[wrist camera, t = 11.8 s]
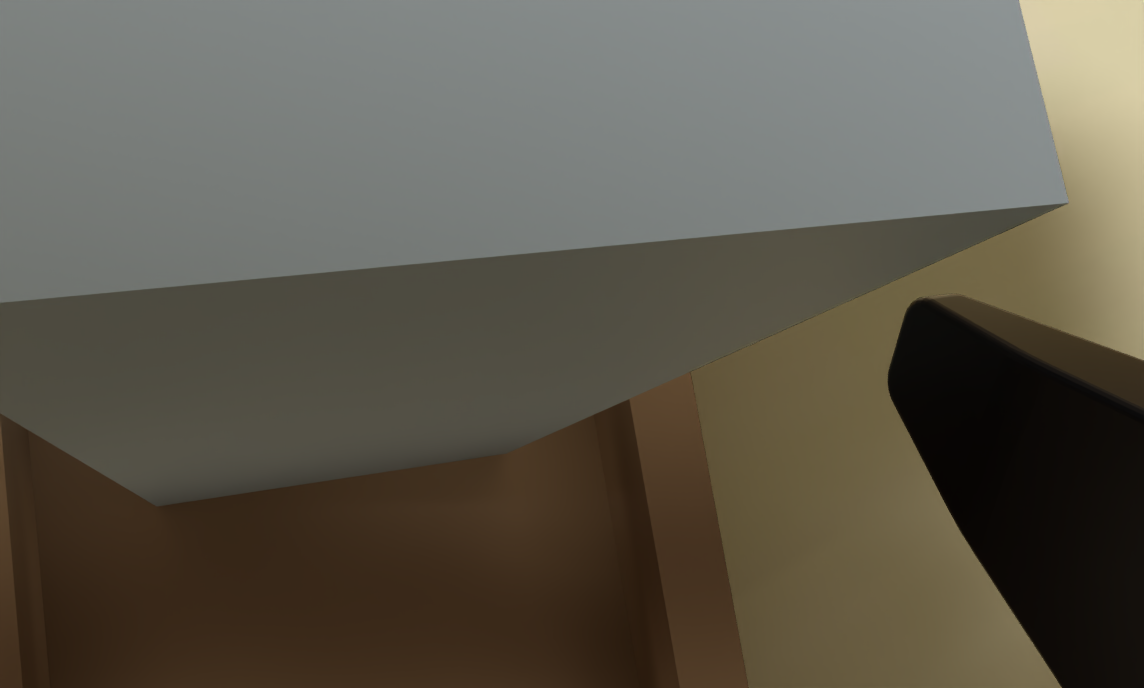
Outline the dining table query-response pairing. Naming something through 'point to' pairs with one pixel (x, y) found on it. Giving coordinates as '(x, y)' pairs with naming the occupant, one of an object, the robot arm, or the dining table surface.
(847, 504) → the dining table surface
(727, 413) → the dining table surface
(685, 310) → the slate post
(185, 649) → the wooden tray
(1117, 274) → the dining table surface
